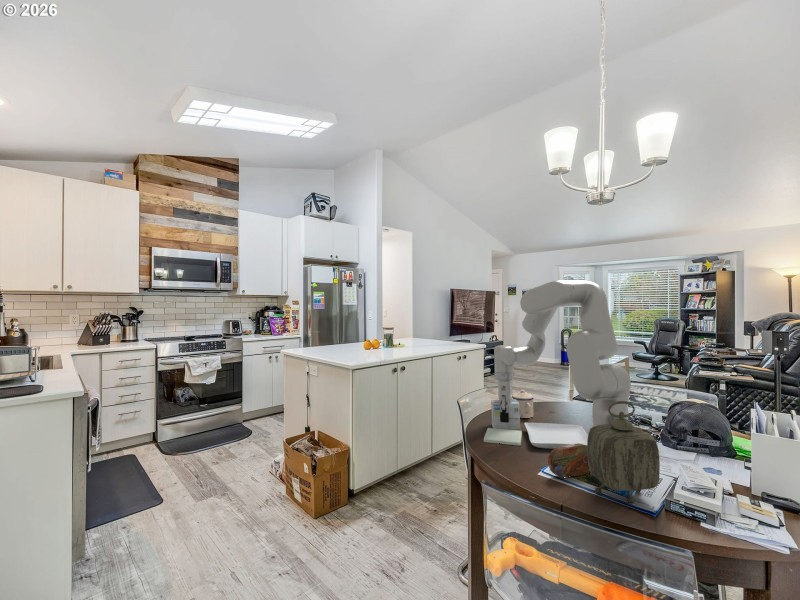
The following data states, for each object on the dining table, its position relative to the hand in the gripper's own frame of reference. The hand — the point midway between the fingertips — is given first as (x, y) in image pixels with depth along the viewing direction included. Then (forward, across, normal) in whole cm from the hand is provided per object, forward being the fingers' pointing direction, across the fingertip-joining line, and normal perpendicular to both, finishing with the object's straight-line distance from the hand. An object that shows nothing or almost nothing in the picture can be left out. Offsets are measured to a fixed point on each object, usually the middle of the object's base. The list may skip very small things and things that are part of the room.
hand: (505, 418), depth 153 cm
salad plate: (+4, -10, -19) cm, 22 cm away
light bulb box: (+4, 0, 0) cm, 4 cm away
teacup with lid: (+4, +16, -7) cm, 18 cm away
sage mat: (+4, -12, 0) cm, 13 cm away
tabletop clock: (+4, -48, -33) cm, 58 cm away
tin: (+4, -37, -22) cm, 43 cm away
